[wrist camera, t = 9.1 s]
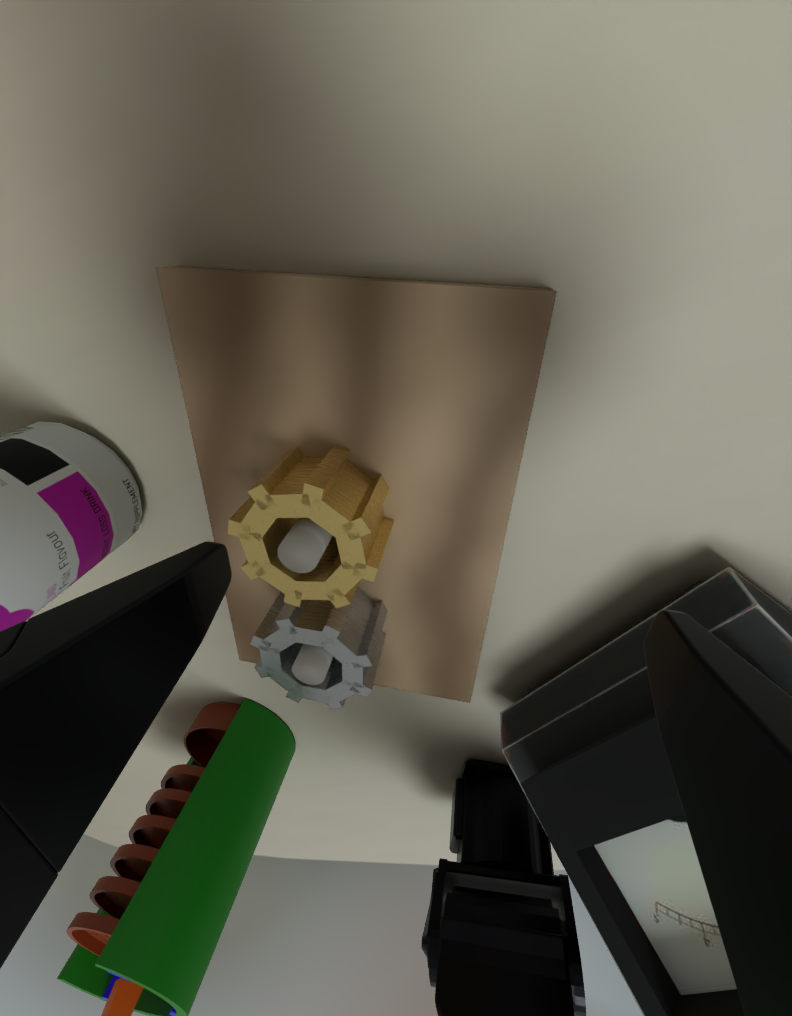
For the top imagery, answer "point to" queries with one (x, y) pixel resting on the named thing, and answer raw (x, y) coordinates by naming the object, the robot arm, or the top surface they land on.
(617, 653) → the voltmeter
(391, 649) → the board
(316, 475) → the brass gear
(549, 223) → the top surface
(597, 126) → the top surface
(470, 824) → the robot arm
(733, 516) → the top surface
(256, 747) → the motor
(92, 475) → the supplement can
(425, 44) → the top surface
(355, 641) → the steel gear
